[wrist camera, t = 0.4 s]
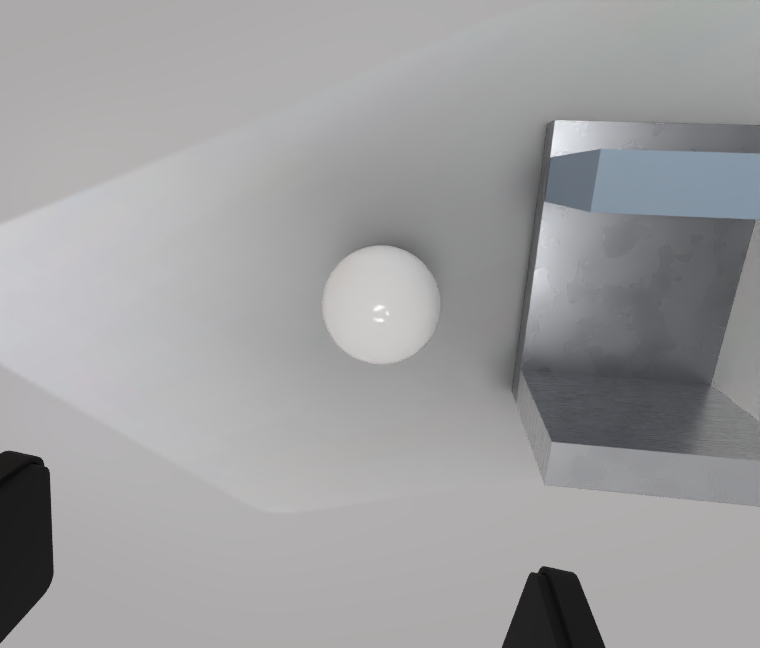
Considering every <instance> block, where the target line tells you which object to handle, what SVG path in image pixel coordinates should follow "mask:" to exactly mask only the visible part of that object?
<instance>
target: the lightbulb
mask: <svg viewBox="0 0 760 648" xmlns="http://www.w3.org/2000/svg"><path fill="white" fill-rule="evenodd" d="M440 308H441V302H440V293H439V289H438V286H437V283H436V281H435V279H434V277H433V275H432V273H431V272H430V270H429V269H428V268H427V266H426V265H425V264H424V263H423V262H422V261H421V260H420V259H418V258H417V257H416V256H414V255H413V254H411V253H409V252H408V251H405V250H403V249H400V248H397V247H393V246H386V245H377V246H369V247H365V248H362V249H359V250H357V251H355V252H353V253H351V254H349V255H348V256H346V257H345V258H344V259H343V260H341V261H340V262H339V263H338V264H337V265H336V267H335V268H334V269H333V271H332V272H331V274H330V275H329V277H328V279H327V282H326V284H325V287H324V291H323V295H322V314H323V319H324V323H325V326H326V328H327V331H328V333H329V334H330V336H331V338H332V339H333V341H334V342H335V343H336V344H337V345H338V346H339V347H340V348H341V349H342V350H343V351H344V352H345V353H347V354H348V355H350V356H352V357H353V358H355V359H358V360H360V361H363V362H366V363H371V364H391V363H396V362H399V361H402V360H405V359H407V358H409V357H411V356H412V355H414V354H415V353H417V352H418V351H419V350H421V349H422V348H423V347H424V346H425V345H426V343H427V342H428V341H429V340H430V338H431V336H432V335H433V333H434V331H435V329H436V326H437V324H438V320H439V316H440Z"/></svg>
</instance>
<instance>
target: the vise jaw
mask: <svg viewBox="0 0 760 648" xmlns="http://www.w3.org/2000/svg"><path fill="white" fill-rule="evenodd" d="M545 202H549V203H553V204H557V205H562V206H566V207H570V208H574V209H579V210H583V211H587V212H595V213H618V214H641V215H665V216H688V217H711V218H734V219H757V220H760V154H756V153H723V152H690V151H657V150H624V149H597V150H591V151H585V152H579V153H573V154H567V155H561V156H555V157H551V160H550V167H549V175H548V182H547V189H546V196H545Z"/></svg>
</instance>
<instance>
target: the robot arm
mask: <svg viewBox="0 0 760 648" xmlns="http://www.w3.org/2000/svg"><path fill="white" fill-rule="evenodd" d="M50 495H51V494H50V472H49V469H48V468H47V467H44V463H43V460H42V459H41V458H40V457H37V456H33V455H28V454H23V453H19V452H14V451H5V452H3V453H1V454H0V643H1V642H2V641H3V640H4V639H5V637H6V636H7V635H8V634H9V633H10V632H11V631H12V629H13V628H14V627H15V626H16V625H17V624H18V623H19V622H20V621H21V620H22V618H23V617H24V616H25V615H26V614H27V613H28V612H29V611H30V609H31V608H32V607H33V606H34V605H35V604H36V603H37V602H38V601H39V600H40V598H41V597H42V596H43V595H44V594H45V592H46V591H47V589H48V588H49V586H50V584H51V581H52V578H53V572H54V571H53V545H52V519H51V496H50ZM502 648H605V645H604V643H603V640H602V638H601V635H600V633H599V630H598V627H597V625H596V623H595V620H594V617H593V615H592V612H591V609H590V607H589V604H588V602H587V599H586V597H585V594H584V592H583V589H582V586H581V584H580V582H579V579H578V577H577V575H576V574H574V573H573V572H568V571H563V570H559V569H555V568H550V567H545V566H543V567H542V568H540V570H539V572H538V573H534V572H533V573H532V572H531V573H530V574H529V576H528V579H527V582H526V584H525V587H524V589H523V592H522V595H521V598H520V600H519V603H518V606H517V608H516V611H515V614H514V616H513V619H512V622H511V624H510V627H509V630H508V632H507V635H506V638H505V640H504V643H503V646H502Z"/></svg>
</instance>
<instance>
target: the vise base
mask: <svg viewBox="0 0 760 648" xmlns="http://www.w3.org/2000/svg"><path fill="white" fill-rule="evenodd" d="M597 149H624V150H657V151H690V152H723V153H756V154H760V125H729V124H689V123H648V122H608V121H568V120H555V121H552V122H550V123H548V124H547V131H546V138H545V146H544V153H543V161H542V169H541V176H540V184H539V191H538V199H537V206H536V214H535V221H534V229H533V236H532V244H531V251H530V259H529V266H528V274H527V282H526V289H525V297H524V304H523V312H522V319H521V327H520V334H519V342H518V349H517V357H516V364H515V372H514V379H513V387H512V393H513V396H514V398H515V401H516V404H517V407H518V410H519V413H520V416H521V418H522V421H523V424H524V427H525V430H526V433H527V436H528V439H529V441H530V444H531V447H532V450H533V453H534V456H535V459H536V462H537V464H538V467H539V470H540V473H541V476H542V479H543V482H544V485H548V486H558V487H569V488H578V489H588V490H599V491H610V492H619V493H629V494H639V495H649V496H659V497H669V498H679V499H689V500H699V501H709V502H719V503H729V504H740V505H750V506H759V507H760V422H759V421H758V420H756V419H755V418H754V417H752V416H751V415H750V414H748V413H747V412H746V411H745V410H743V409H742V408H741V407H739V406H738V405H737V404H735V403H734V402H733V401H731V400H730V399H729V398H727V397H726V396H725V395H724V394H722V393H721V392H720V391H718V390H717V389H716V388H714V387H713V386H712V385H711V382H712V378H713V374H714V371H715V367H716V363H717V360H718V356H719V352H720V349H721V345H722V341H723V338H724V334H725V330H726V327H727V323H728V319H729V316H730V312H731V308H732V305H733V301H734V297H735V294H736V290H737V286H738V283H739V279H740V275H741V272H742V268H743V264H744V261H745V257H746V253H747V250H748V246H749V242H750V239H751V235H752V231H753V228H754V224H755V220H756V219H734V218H711V217H688V216H665V215H641V214H618V213H595V212H587V211H583V210H579V209H574V208H570V207H566V206H562V205H557V204H553V203H549V202H545V196H546V189H547V182H548V175H549V167H550V160H551V157H555V156H561V155H567V154H573V153H579V152H585V151H591V150H597Z"/></svg>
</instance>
